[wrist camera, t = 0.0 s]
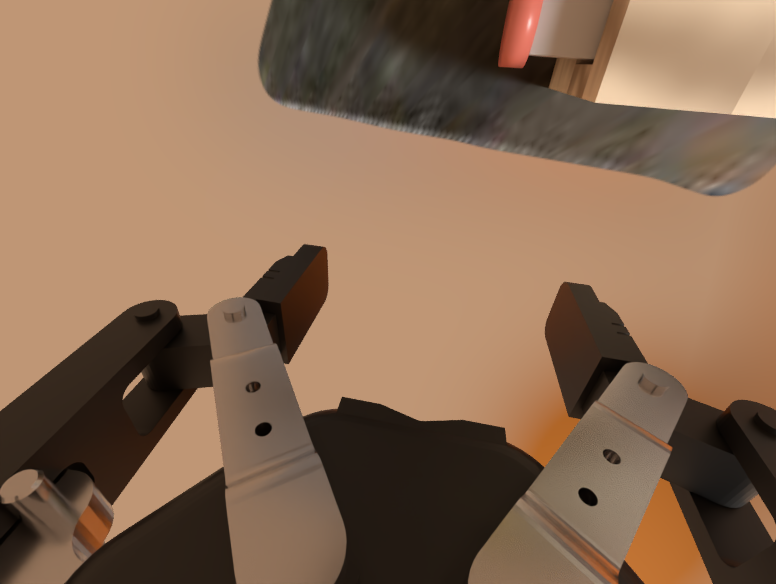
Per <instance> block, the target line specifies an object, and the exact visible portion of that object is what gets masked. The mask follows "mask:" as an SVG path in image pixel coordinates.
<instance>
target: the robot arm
mask: <svg viewBox="0 0 776 584" xmlns="http://www.w3.org/2000/svg"><path fill="white" fill-rule="evenodd" d="M327 293H328V260H327V250H326V248H325V247H321V246H314V245H306V244H304V245H303V246H302V247H301V248H300V249H299V250H298V252H296V254H295V255H294V256H286V257H284V258H282V259H280V260H278V261H276V262H275V263H274V264H273V265H272V266H271V268H270V269H269V271H267V272H266V273H265V274H264V275H263V277H262V278H260V279H259V280H258V281H257V283H256V284H255V285H254V286H253V287H252V288H251V289H250V290H249V291H248V292H247V293H246V294H245V296H243V297H239V298H231V299H227V300H224V301H221V302H219V303H217V304H216V305H214V306H213V307H212V308H211V309H210V310H209V311H208V314H204V315H185V316H180V315H179V312H178V309H177V306H176V305H175V304H174V303H172V302H170V301H165V300H154V301H148V302H143V303H140V304H138V305H135V306H133V307H131V308H129V309H127V310H126V311H125V312H123V313H122V314H121V315H119V316H118V317H117V318H116V319H114V320H113V321H112V322H111V323H110V324H108V325H107V326H106V327H104V328H103V329H102V330H101V331H99V333H97V334H96V335H95V336H93V337H92V338H91V339H90V340H88V341H87V342H86V343H85V344H84V345H82V346H81V347H80V348H78V349H77V350H76V351H75V352H73V353H72V354H71V355H70V356H68V357H67V358H66V359H65V360H63V361H62V362H61V363H60V364H58V365H57V366H56V367H55V368H53V369H52V370H51V371H50V372H48V373H47V374H46V375H45V376H43V377H42V378H41V379H40V380H39V381H37V382H36V383H35V384H34V385H32V386H31V387H30V388H29V389H27V390H26V391H25V392H24V393H22V394H21V395H20V396H19V397H17V398H16V399H15V400H14V401H13V402H11V403H10V404H9V405H7V406H6V407H5V408H4V409H2V410H1V411H0V584H644V583H643V581H642V580H641V579H640V578H639V577H638V576H637V574H636V573H635V572H634V571H633V570H632V569H631V567H630V566H629V565H628V564H627V563H626V561H625V560H624V559H625V556H626V554H627V552H628V550H629V547H630V545H631V543H632V541H633V538H634V536H635V534H636V531H637V529H638V527H639V525H640V522H641V520H642V518H643V515H644V513H645V511H646V509H647V506H648V504H649V502H650V499H651V497H652V495H653V493H654V490H655V488H656V486H657V483H658V481H659V479H660V478H662V479H664V480H667V481H669V482H670V484H671V486H672V489H673V491H674V493H675V496H676V498H677V501H678V503H679V505H680V508H681V510H682V512H683V514H684V517H685V519H686V522H687V524H688V526H689V528H690V531H691V533H692V536H693V538H694V540H695V543H696V545H697V547H698V550H699V552H700V554H701V557H702V559H703V561H704V564H705V566H706V568H707V571H708V573H709V575H710V578H711V580H712V583H713V584H776V540H775V542H773V541H772V539H771V537H770V535H769V534H768V532H767V530H766V529H765V527H764V525H763V524H762V522H761V520H760V518H759V517H758V515H757V513H756V512H755V510H754V508H753V507H752V505H751V503H750V500H751V499H753V498H754V497H755V496H756V495H758V494H759V495H760V497H761V499H762V500H763V502H764V503H765V505H766V507H767V508H768V510H769V511H770V513H771V515H772V517H773V518H774V520H775V523H776V410H774V409H772V408H770V407H767V406H765V405H762V404H760V403H757V402H753V401H748V400H737V401H734V402H732V404H731V405H730V406H729V407H728V408H727V409H726V410H725V411H722V410H719V409H716V408H714V407H711V406H708V405H706V404H703V403H700V402H698V401H695V400H692V399H690V398H688V395H687V392H686V390H685V388H684V387H683V386H682V384H681V383H680V382H679V381H678V380H677V379H676V378H674V377H673V376H672V375H670V374H669V373H667V372H665V371H664V370H662V369H660V368H657V367H655V366H653V365H650V364H648V363H647V361H646V360H645V358H644V356H643V355H642V353H641V352H640V350H639V348H638V347H637V345H636V343H635V342H634V340H633V338H632V337H631V336H629V335H630V333H629V332H628V330H627V328H626V327H624V323H623V322H622V320H621V319H620V317H619V315H618V314H617V313H616V312H615V311H614V310H613V309H611V308H610V307H609V306H608V305H607V304H605V303H603V302H599V300H598V298H597V296H596V295H595V293H594V291H593V289H592V287H591V286H589V285H584V284H577V283H570V282H564V283H563V284H562V285H561V286H560V289H559V291H558V294H557V296H556V299H555V301H554V303H553V306H552V308H551V311H550V313H549V316H548V318H547V321H546V326H545V338H546V341H547V345H548V348H549V351H550V355H551V358H552V361H553V365H554V368H555V372H556V375H557V379H558V382H559V385H560V389H561V392H562V396H563V399H564V403H565V406H566V409H567V413H568V416H569V417H573V418H578V419H581V420H580V421H579V423H578V424H577V426H576V427H575V428H574V429H573V431H572V432H571V433H570V435H569V436H568V437H567V439H566V440H565V441H564V443H563V444H562V445H561V447H560V448H559V449H558V451H557V452H556V453H555V455H554V456H553V457H552V459H551V460H550V461H549V463H548V464H547V465H546V467H545V468H544V467H543V466H542V465H541V464H540V463H539V462H538V461H536V460H535V459H534V458H533V457H531V456H530V455H528V454H527V453H525V452H524V451H523V450H521V449H519V448H517V447H515V446H514V445H512V444H510V443H507V442H506V434H505V428H502V427H497V426H492V425H486V424H481V423H476V422H471V421H465V420H449V421H418V420H416V419H413V418H411V417H409V416H406V415H404V414H402V413H400V412H397V411H395V410H393V409H390V408H388V407H386V406H384V405H381V404H377V403H372V402H366V401H361V400H356V399H351V398H345V397H342V399H341V401H340V404H339V407H338V409H330V410H324V411H319V412H315V413H312V414H309V415H306V416H302V413H301V411H300V408H299V405H298V402H297V400H296V397H295V394H294V391H293V388H292V385H291V382H290V380H289V377H288V374H287V371H286V368H285V366H284V363H285V364H289V363H290V361H291V359H292V357H293V356H294V354H295V352H296V351H297V349H298V347H299V345H300V344H301V342H302V340H303V338H304V336H305V335H306V333H307V331H308V330H309V328H310V326H311V325H312V323H313V321H314V319H315V318H316V316H317V314H318V313H319V311H320V309H321V307H322V306H323V304H324V302H325V300H326V297H327ZM141 372H142V374H143V377H144V378H143V379H142V380H141V381H140V382H139V383H138V384H137V385H136V386H135V388H134V389H133V390H132V391H131V392H130V393H129V394H128V395H127V396H126V397H125V398H124V399H123V394H124V392H125V390H126V388H127V387H128V385H129V384H130V383H131V382H132V381H133V380H134V379H135V378H136V377H137V375H139V374H140V373H141ZM202 387H213V388H214V394H215V403H216V410H217V418H218V426H219V434H220V442H221V449H222V456H223V465H224V467H222V468H221V469H219V470H218V471H216V472H214V473H213V474H211V475H210V476H208V477H207V478H205V479H204V480H202V481H200V482H199V483H197V484H196V485H194V486H193V487H191V488H190V489H188V490H187V491H185V492H183V493H182V494H180V495H179V496H177V497H176V498H174V499H173V500H171V501H169V502H168V503H166V504H165V505H164V506H162V507H160V508H159V509H157V510H156V511H154V512H153V513H151V514H149V515H148V516H146V517H145V518H143V519H142V520H140V521H139V522H137V523H135V524H134V525H132V526H131V527H129V528H128V529H126V530H125V531H123V532H122V533H120V534H119V535H117V536H116V537H114V538H113V539H111V540H110V541H109V542H107V543H105V542H104V540H105V539H106V537H107V535H108V533H109V531H110V529H111V526H112V523H113V519H114V513H113V508H112V505H113V503H114V502H115V500H116V499H117V498H118V497H119V495H120V494H121V492H122V491H123V490H124V488H125V487H126V486H127V484H128V482H129V481H130V480H131V479H132V477H133V476H134V475H135V473H136V472H137V470H138V469H139V468H140V466H141V465H142V464H143V462H144V461H145V459H146V458H147V457H148V455H149V454H150V453H151V451H152V450H153V449H154V447H155V446H156V444H157V443H158V442H159V440H160V439H161V438H162V436H163V435H164V434H165V432H166V431H167V429H168V428H169V427H170V425H171V424H172V423H173V421H174V420H175V419H176V417H177V416H178V414H179V413H180V412H181V410H182V409H183V407H184V406H185V405H186V403H187V402H188V401H189V399H190V398H191V397H192V395H193V394H194V392H195V391H196V390H197V388H202ZM122 399H123V400H122Z"/></svg>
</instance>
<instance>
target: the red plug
mask: <svg viewBox="0 0 776 584" xmlns="http://www.w3.org/2000/svg"><path fill="white" fill-rule="evenodd" d="M612 3H613V0H509V5H508V9H507V14H506V19H505V23H504V29H503V34H502V40H501V46H500V52H499V61H498V66H499V67H510V68H523V67H524V65H525V63H526V61H527V58H528V56H539V57H553V58H567V59H580V60H594V59H595V56H596V53H597V49H598V46H599V43H600V40H601V37H602V34H603V31H604V28H605V25H606V22H607V19H608V16H609V13H610V10H611V6H612Z"/></svg>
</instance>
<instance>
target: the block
mask: <svg viewBox="0 0 776 584" xmlns="http://www.w3.org/2000/svg"><path fill="white" fill-rule="evenodd" d="M549 88H550V89H553V90H556V91H560V92H563V93H566V94H569V95H572V96H576V97H579V98H582V99H585V100H588V101H591V102H595V103H606V104H617V105H629V106H641V107H652V108H664V109H676V110H687V111H699V112H711V113H722V114H734V115H746V116H757V117H769V118H776V0H613V3H612V6H611V10H610V13H609V16H608V19H607V22H606V25H605V28H604V31H603V34H602V37H601V40H600V43H599V46H598V49H597V53H596V56H595V59H594V60H580V59H567V58H557V60H556V63H555V67H554V71H553V74H552V78H551V82H550V85H549Z"/></svg>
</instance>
